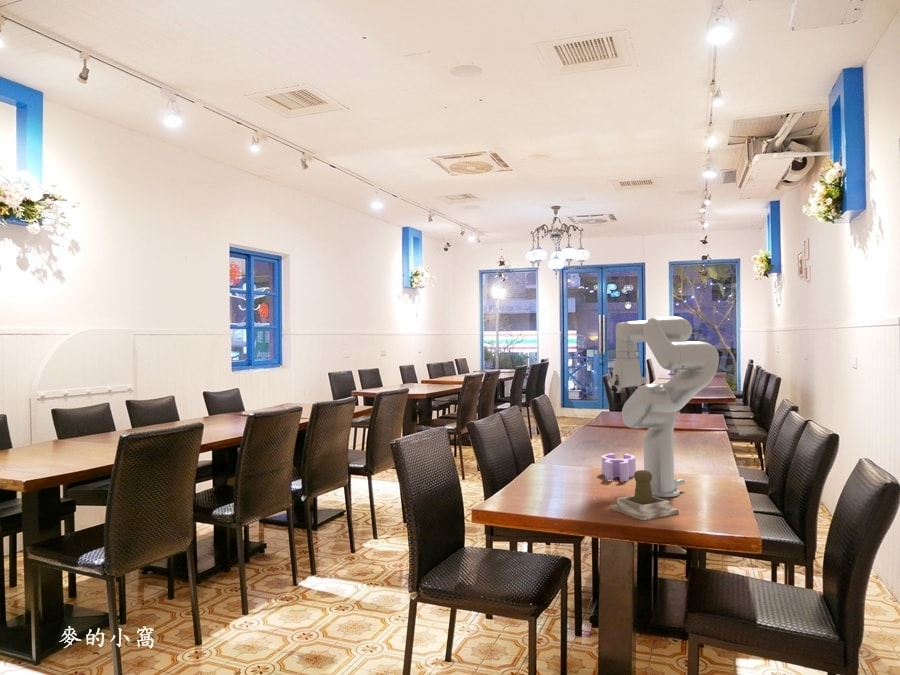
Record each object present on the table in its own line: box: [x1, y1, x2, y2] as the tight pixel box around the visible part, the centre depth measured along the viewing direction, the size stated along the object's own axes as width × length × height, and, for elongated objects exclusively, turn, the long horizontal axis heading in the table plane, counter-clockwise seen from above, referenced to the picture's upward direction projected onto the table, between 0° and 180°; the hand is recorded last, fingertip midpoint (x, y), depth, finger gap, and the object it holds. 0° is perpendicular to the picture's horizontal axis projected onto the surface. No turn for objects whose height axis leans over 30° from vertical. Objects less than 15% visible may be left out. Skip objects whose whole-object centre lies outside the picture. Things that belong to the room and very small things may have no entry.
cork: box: [633, 469, 653, 505], centre depth 192 cm, size 6×6×11 cm
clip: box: [601, 452, 637, 482], centre depth 241 cm, size 20×12×7 cm, turn 161°
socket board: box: [609, 494, 679, 521], centre depth 192 cm, size 14×14×4 cm
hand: (627, 402), depth 233 cm, fingers open, 9 cm apart
